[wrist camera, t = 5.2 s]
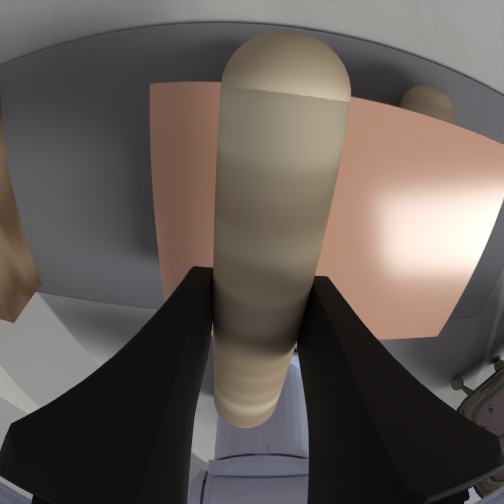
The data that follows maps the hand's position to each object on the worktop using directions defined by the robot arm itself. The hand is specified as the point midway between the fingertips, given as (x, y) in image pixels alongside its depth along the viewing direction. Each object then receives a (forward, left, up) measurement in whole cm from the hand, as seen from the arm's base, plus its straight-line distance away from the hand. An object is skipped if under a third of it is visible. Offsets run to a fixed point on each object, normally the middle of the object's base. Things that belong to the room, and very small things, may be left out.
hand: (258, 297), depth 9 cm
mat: (0, -1, -8) cm, 8 cm away
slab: (0, -4, -5) cm, 6 cm away
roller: (0, 0, -1) cm, 1 cm away
